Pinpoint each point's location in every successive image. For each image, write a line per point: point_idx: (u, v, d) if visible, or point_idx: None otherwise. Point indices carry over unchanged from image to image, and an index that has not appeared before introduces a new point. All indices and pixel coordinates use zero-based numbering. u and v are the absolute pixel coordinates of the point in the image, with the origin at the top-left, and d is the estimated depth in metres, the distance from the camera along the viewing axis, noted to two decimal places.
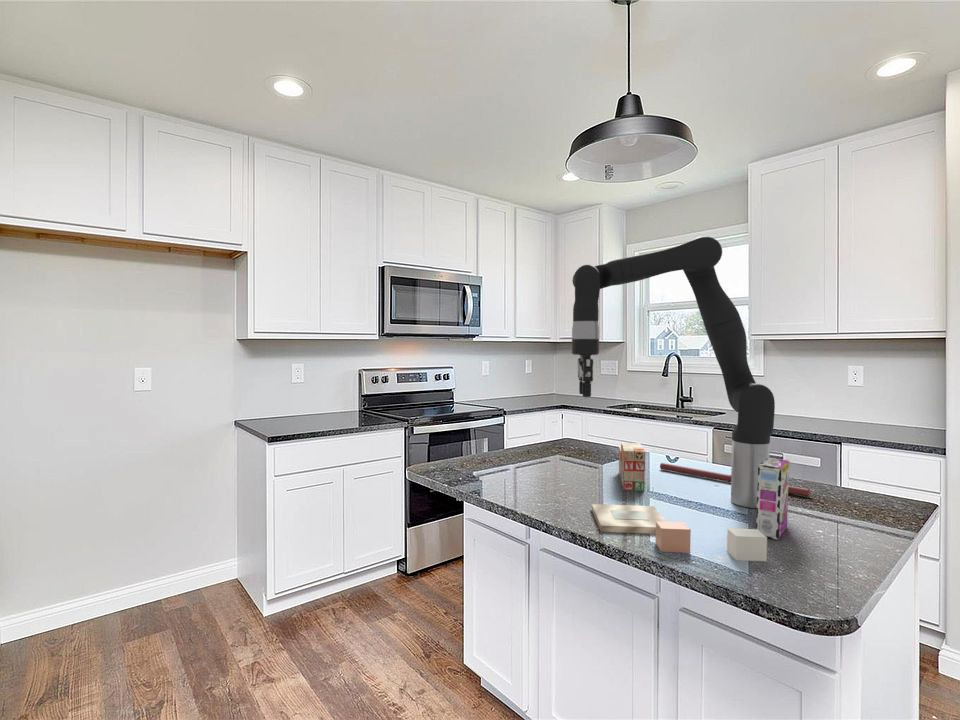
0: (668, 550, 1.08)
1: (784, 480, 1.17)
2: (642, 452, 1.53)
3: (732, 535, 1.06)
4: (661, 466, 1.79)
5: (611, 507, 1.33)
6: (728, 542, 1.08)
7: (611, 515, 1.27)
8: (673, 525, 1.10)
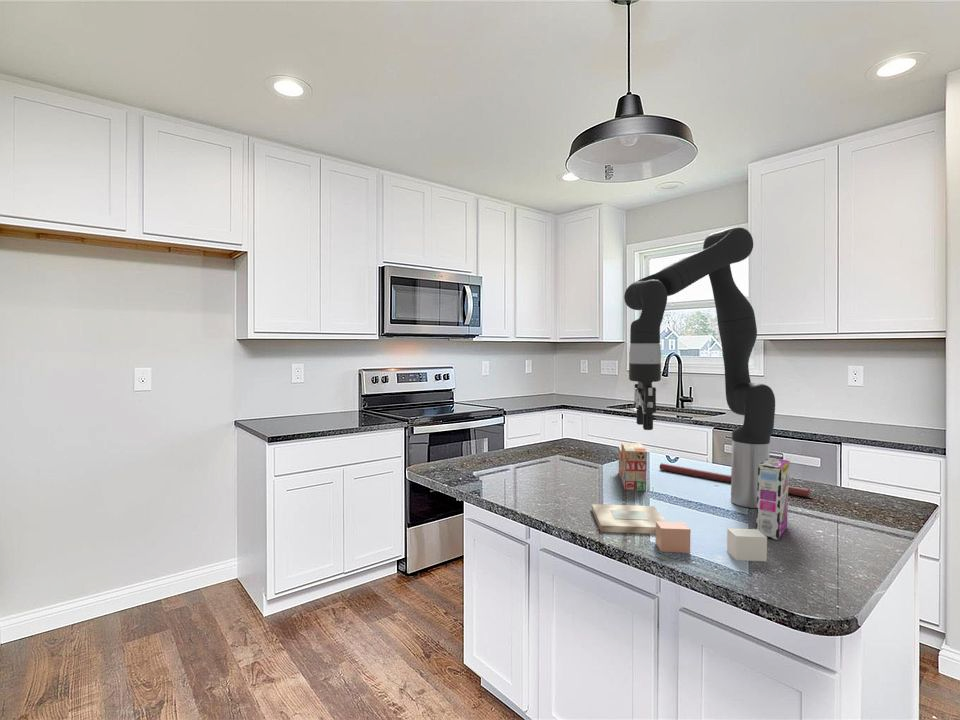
0: (668, 550, 1.08)
1: (784, 480, 1.17)
2: (644, 452, 1.53)
3: (732, 535, 1.06)
4: (661, 466, 1.79)
5: (611, 507, 1.33)
6: (728, 542, 1.08)
7: (611, 515, 1.27)
8: (673, 525, 1.10)
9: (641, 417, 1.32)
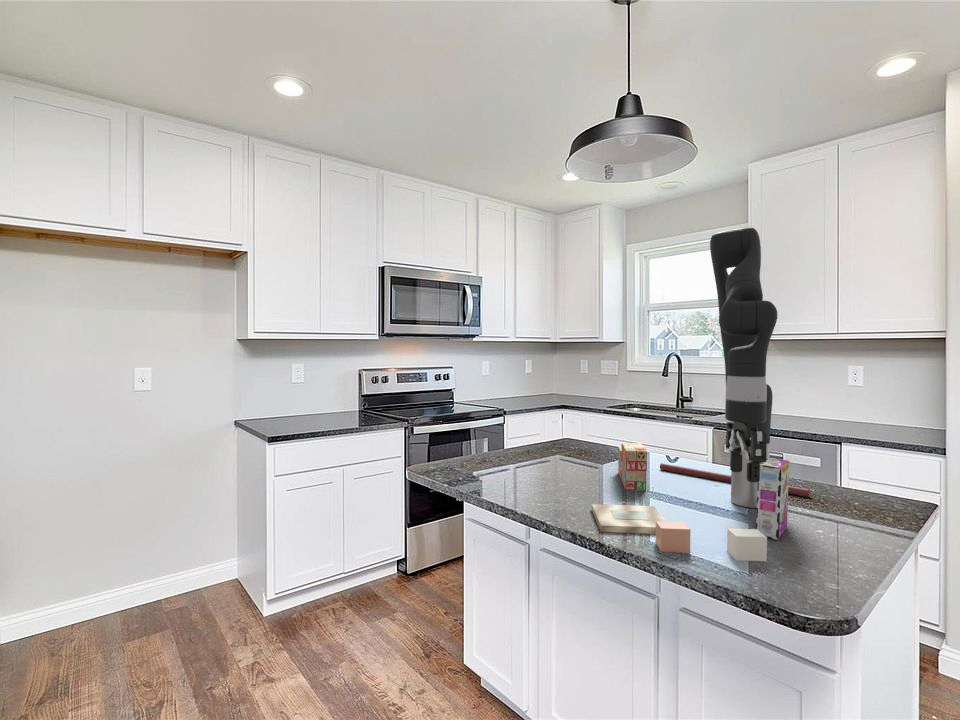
0: (668, 550, 1.08)
1: (784, 480, 1.17)
2: (644, 452, 1.53)
3: (732, 535, 1.06)
4: (661, 466, 1.79)
5: (611, 507, 1.33)
6: (728, 542, 1.08)
7: (611, 515, 1.27)
8: (673, 525, 1.10)
9: (736, 463, 1.10)
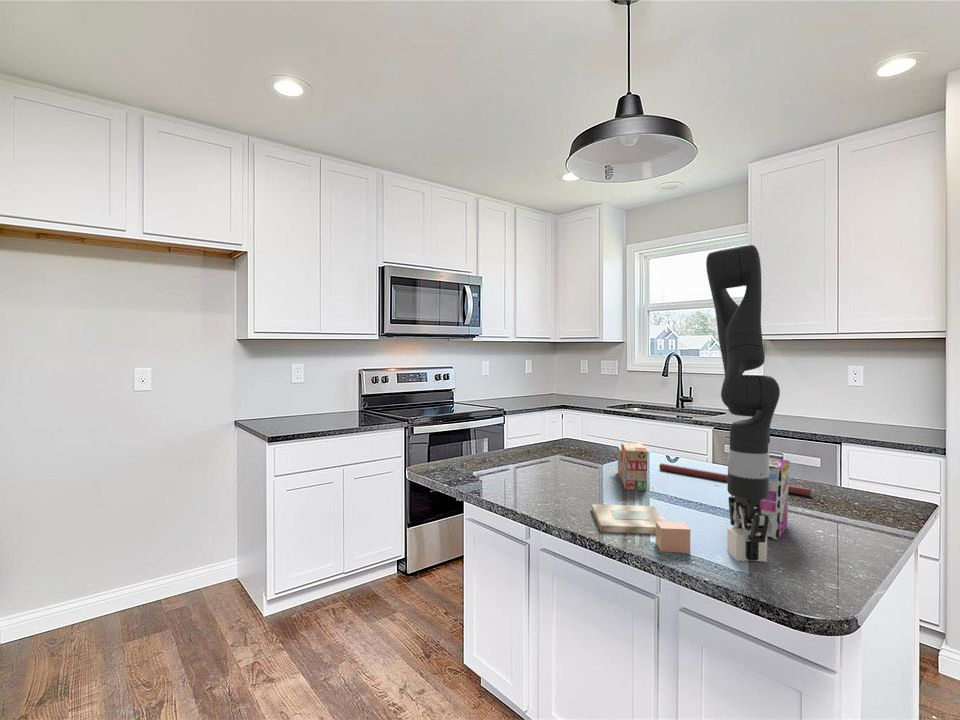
0: (668, 550, 1.08)
1: (784, 480, 1.17)
2: (644, 452, 1.54)
3: (733, 535, 1.06)
4: (660, 467, 1.78)
5: (611, 507, 1.33)
6: (728, 541, 1.08)
7: (611, 515, 1.27)
8: (673, 525, 1.10)
9: None
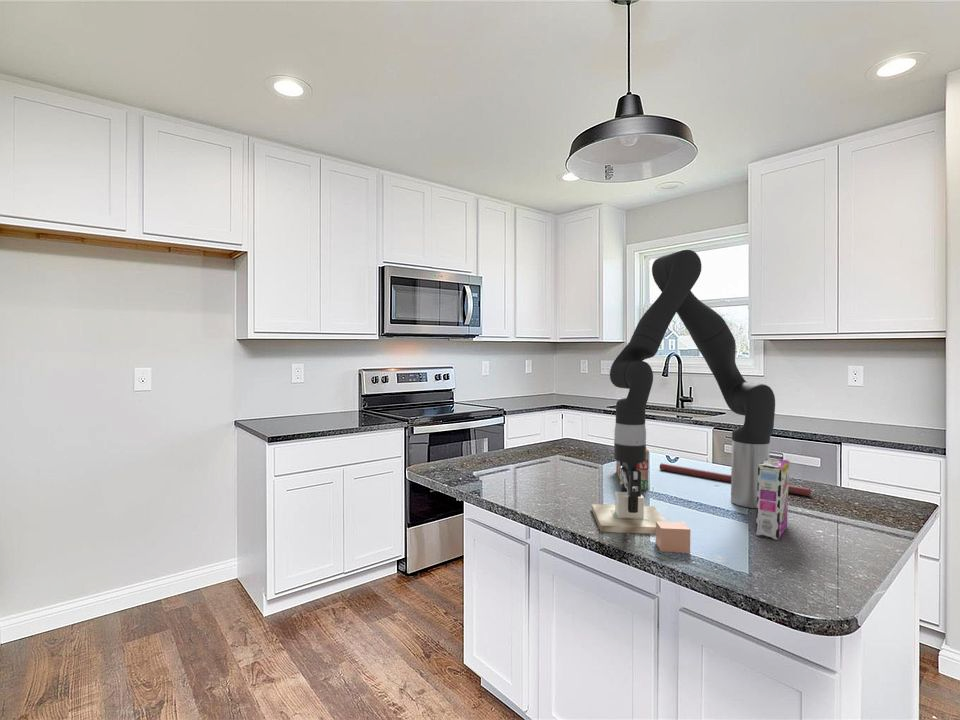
0: (668, 550, 1.08)
1: (784, 480, 1.17)
2: None
3: (617, 497, 1.26)
4: (661, 466, 1.79)
5: (611, 507, 1.33)
6: (615, 503, 1.29)
7: (611, 515, 1.27)
8: (673, 525, 1.10)
9: None
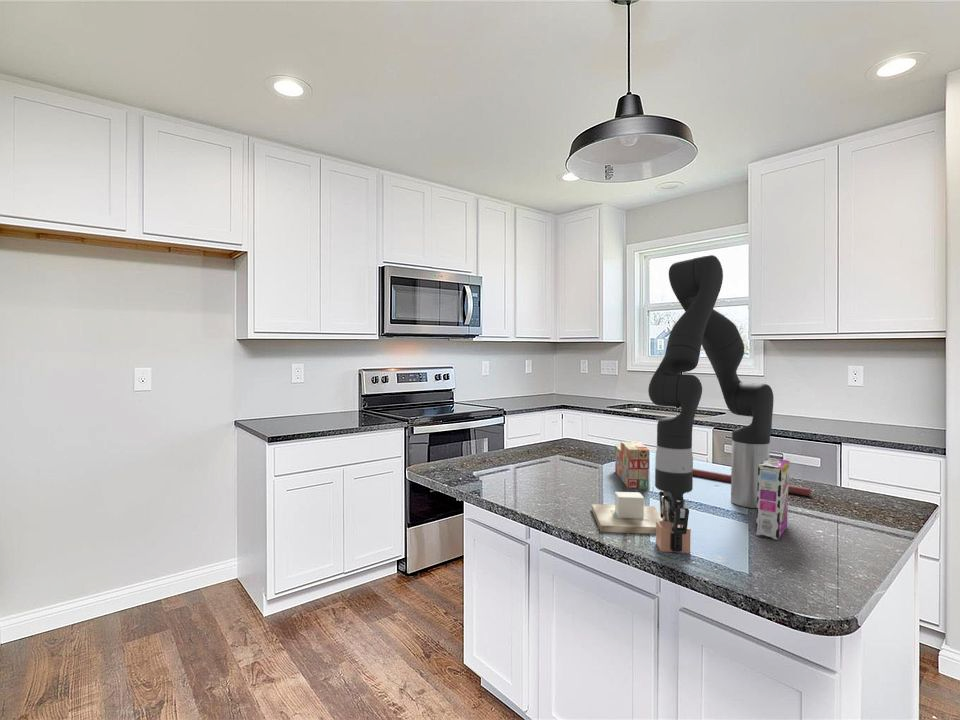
0: (668, 550, 1.08)
1: (784, 480, 1.17)
2: (646, 450, 1.56)
3: (617, 497, 1.26)
4: None
5: (611, 507, 1.33)
6: (615, 503, 1.29)
7: (611, 515, 1.27)
8: None
9: None
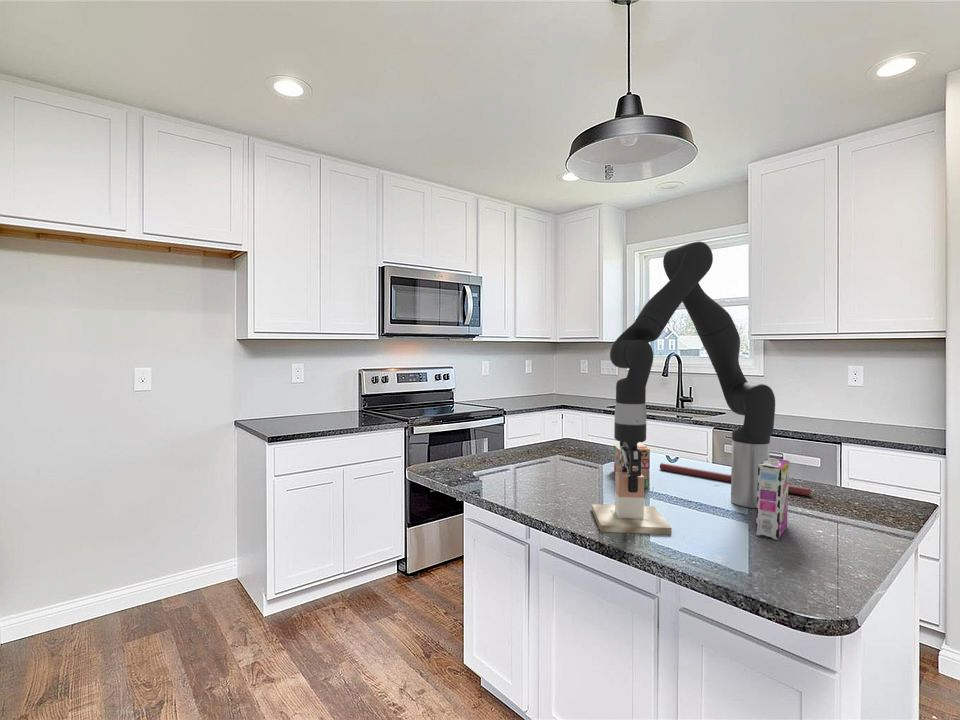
0: (625, 495, 1.25)
1: (784, 480, 1.17)
2: (647, 450, 1.56)
3: (617, 497, 1.26)
4: (661, 466, 1.79)
5: (611, 507, 1.33)
6: (615, 503, 1.29)
7: (611, 515, 1.27)
8: None
9: None
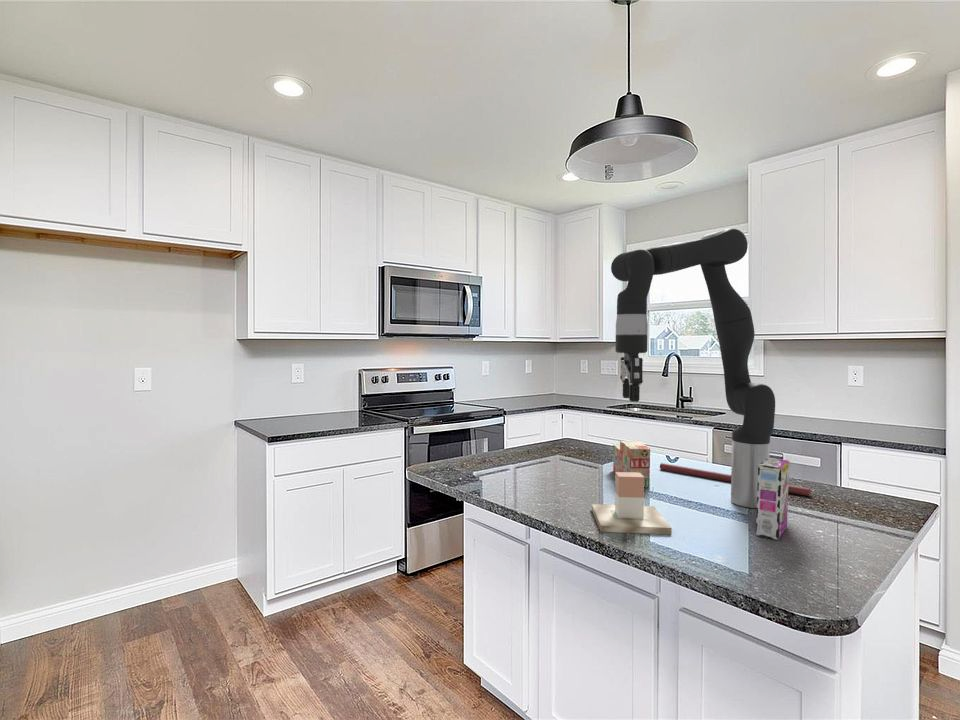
0: (625, 495, 1.25)
1: (784, 480, 1.17)
2: (647, 449, 1.57)
3: (617, 497, 1.26)
4: (661, 466, 1.79)
5: (611, 507, 1.33)
6: (615, 503, 1.29)
7: (611, 515, 1.27)
8: (630, 474, 1.27)
9: (627, 390, 1.30)
